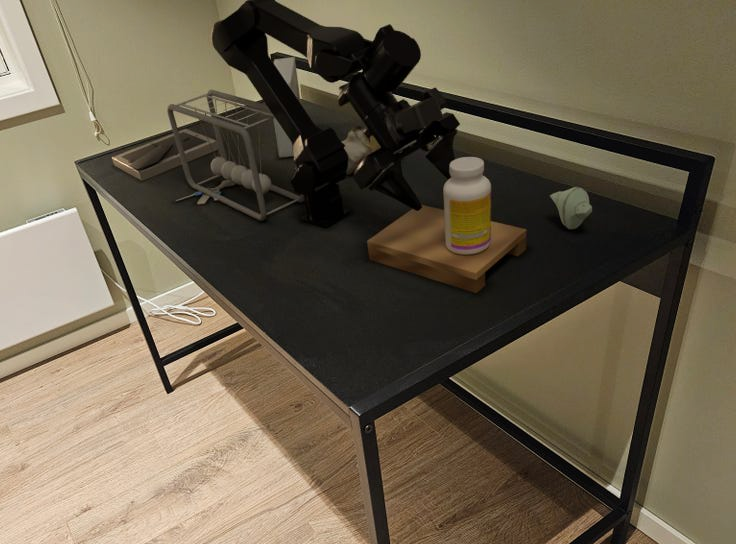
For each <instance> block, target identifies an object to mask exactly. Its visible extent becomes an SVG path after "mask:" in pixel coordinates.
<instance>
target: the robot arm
mask: <svg viewBox="0 0 736 544" xmlns="http://www.w3.org/2000/svg"><path fill="white" fill-rule="evenodd" d="M268 37H271V38H272V39H274V40H276V41H277V42H279V43H281V44H283V45H285V46H287V47H289V48H290V49H292V50H293V51H296V52H297V53H298V54H300V55H302V56H303V57H305V59H307V62H308V65H309V68H310V69H311V70H312V71H313V72H314V73H316V74H317V75H318V76H319V77H320V78H322V79H323V80H325V82H327V83H330V84H334V83H337V82H339V81H341V80H343V79H346V78H348V77H350V76H352V75H353V76H352V77H351V78H350V80H349V82H347V83H345V84H342V85H340V86H339V87H338V90H339V95H338V98H337V104H338V106H339V107H343V106H345V105H347V104H350V106H351V107H352V108H353V110H354V111H355V112H356V114H357V115H358V117H359V118H360V120H361V121H362V123H363V124H364V125H365V126H366V128H367V129H366V130H365V131H364V134H365V135H366V137H367V138H369V137H370V136H372V135H373V137H374V138H375V139H376V141H377V142H378V144H379V145H380V146H381V148H380V149H378V150H376V151H374V152H372V153H370V154H368V155H367V156H366V157H365V158H364V160H363V161H362V162H361V163H360V164H359V165H358V167H357V168H355V169H354V171H353V179H354V182H355V184H356V185H357V186H358V188H359V189H360V190H362V191H363V190H364V189H365V188H367V187H368V190H369V191H370V192H372V191H377V192H379V193H381V194H383V195H385V196H388V197H390V198H392V199H394V200H396V201H398V202H400V203H402V204H403V205H405V206H407V207H408V208H410V209H411V210H412V209H414V210H416V211H419V210H420V209H421V208H422V205H423V204H422V203H421V201H420V199H419V198H418V196H417V194H416V193H415V191H414V190H413V188H412V186H411V185H410V184H409V183H408V181H407V180H406V178H405V177H404V175H403V169H402V168H403V166H402V161H401V160H403V159H404V158H406V157H408V156H409V155H412V154H413V153H415V152H417V151H418V150H421V151H424V152H427V153H426V154H425V155H424V157H425V158H426V159H427V160H428V161H429V162H430V164H432V165H433V166H434V167H435V168H436V169H437V170H438V172H440V173H441V175H443V176H444V177H445V179H447V181H448V180H449V179H450V178H451V175H450V173H449V165H450V163H451V162H452V161H453V160H455V159H456V157H455V152H454V151H455V150H454V141H455V136H456V135H457V134H458V127H459V126H461V122H460V121H459V120H458V119H457V117H456V116H455V114H454V113H452V112H447V111H446V112H444V113H443V112H442V110H444V109H445V108H446V105H447V103H446V99H445V97H444V95H443V94H442V93H441V92H440V90H439V89H438V88H437V87H436V86H435V87H432V88H430V89H428V90H425V91H424V92H423V93H421V94H420V101H418V102H417V103H414V104H412V105H411V104H410V103H409V101H408V100H406V99H404V98H402V99H401V100H398V99H397V98H396V96H395V95H394V94H393V93H392V92H396V91H397V90H398V89H399V88H400V86H401V85H402V84H403V82H404V81H405V80H406V79H407V78H408V77H409V75H410V74H411V73H412V71H413V70H414V69H415V67H416V66H417V65H418V64H419V63H420V61H421V58H422V53H421V48H420V46H419V43H418V42H417V40H416V39H415V38H414V37H411V36H410V35H409V34H408V33H406V32H403V31H401V30H395V28H394V27H393V26H392V24H391V23H389V24H386V25H383V26H382V27H379V28H378V31H376V33H375V36H374V38H373V40H370V39H367V38H365V37H364V36H363V35H362V34H361V32H360V33H359V31H356V30H353V29H350V28H346V27H342V26H325V25H321V24H320V23H318V22H316V21H313V20H312V19H310V18H308V17H306V16H304V15H302V14H301V13H298V12H297V11H295V10H293V9H291V8H290V7H287V6H285V5H284V4H282V3H280V2H278V1H276V0H245V1H244V3H242V4H241V5H240V6H239V7H238V9H237V10H235V11H234V12H232V13H231V14H229V15H228V16H227V17H225V18H224V19H221V20H218V21H216V22H215V23H214V24H213V27H212V31H211V34H210V40H211V44H212V46H213V48H214V50H215V51H216V53H218V55H219V56H220V57H221V58H222V60H223V61H224V62H225V63H226V64H227V65H228V66H229V67H231V68H233V69H235V70H236V71H238V72H240V73H243V74H244V75H245V76H246V77H247V79H248V80H249V81H250V83H251V84H252V86H253V87H254V88H255V91H256V93H257V94H258V95H259V96H260V98H261V100H262V101H263V102H264V104H266V105H267V107H268V108H269V110H270V111H271V112H272V113H271V112H270V113H271V114H273V115H274V117H275V118H276V120H277V121H278V123H279V124H280V126H281V127H282V129H283V130H284V132H285V133H286V135H287V136H288V138H289V139H290V141H291V142H292V144H293V152H294V156H293V162H294V165H295V164H296V166H297V168H298V171H297V172H295V174H294V175H293V177H292V178H291V179H290V184H291V186H292V188H293V191H294V193H295V194H299V195H300V194H302V195H304V205H305V210H306V214H305V215H303V216H302V217H301V221H302V222H305V223H309V224H311V225H315V226H319V227H322V228H329V227H331V226H332V225H333V224H335V223H336V222H337V221H339V220H341V219H342V218H344V217H346V216H347V215H348V214H349V213H350V211H349V209H346V208H344V205H343V196H342V194H341V191H340V185H339V184H338V183H340V182H342V181H344V180H346V178H347V174H346V172H347V168H348V158H349V157H348V154H347V152H346V150H345V149H344V147H345V145H344V144H343V143H342V142H341V141H342V140H340V138H339V136H338V134H337V132H336V131H335V129H333V128H332V127H327V128H325V129H323V128H321V127H318V126H317V125H316V123H315V122H314V121H313V119H312V117H311V116H310V115H309V113H308V112H307V110H306V109H305V108H304V106H303V105H302V102H301V103H300V102H299V100H298V99H297V97H296V96H295V94H294V93H293V91H292V90H291V88H290V87H289V85H288V84H287V82H286V81H285V79H284V78H283V76H282V75H281V73H280V72H279V70H278V69H277V67H276V66H275V64H274V61H273V60H272V58H271V57H270V55H269V44H268ZM400 152H401V153H400ZM296 166H295V167H296Z"/></svg>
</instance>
